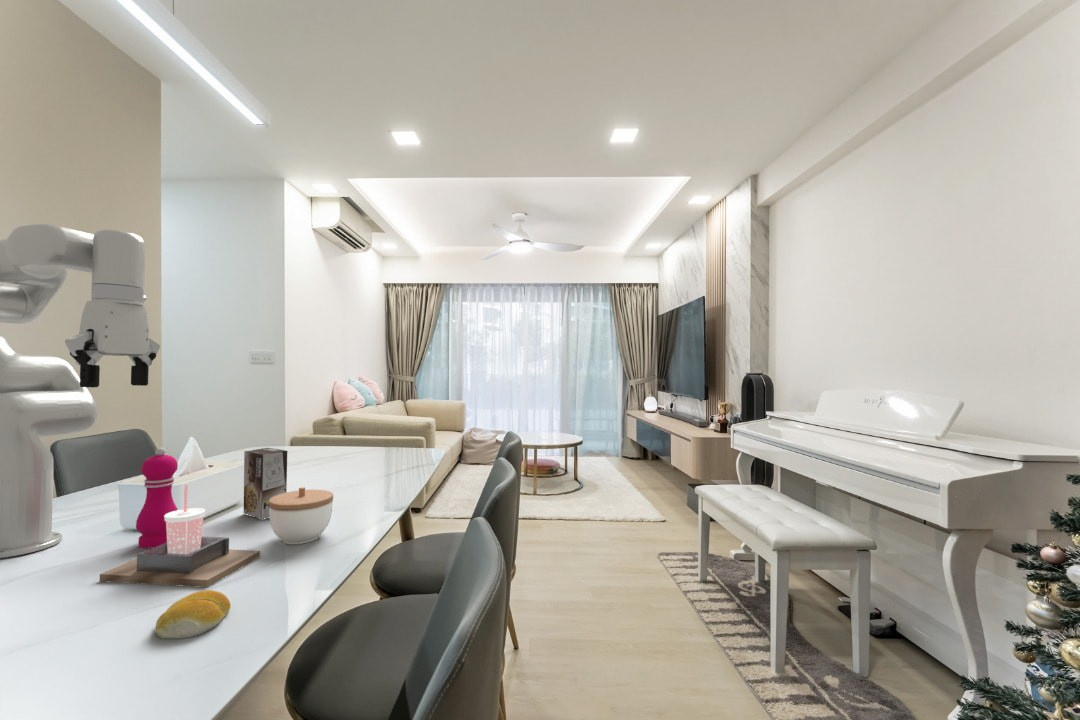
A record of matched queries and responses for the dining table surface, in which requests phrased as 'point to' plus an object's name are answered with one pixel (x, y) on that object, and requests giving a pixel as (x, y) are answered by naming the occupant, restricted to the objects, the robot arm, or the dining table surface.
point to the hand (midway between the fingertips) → (115, 386)
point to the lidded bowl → (300, 515)
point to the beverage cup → (184, 528)
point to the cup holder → (183, 565)
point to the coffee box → (263, 479)
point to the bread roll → (193, 615)
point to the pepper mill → (156, 499)
